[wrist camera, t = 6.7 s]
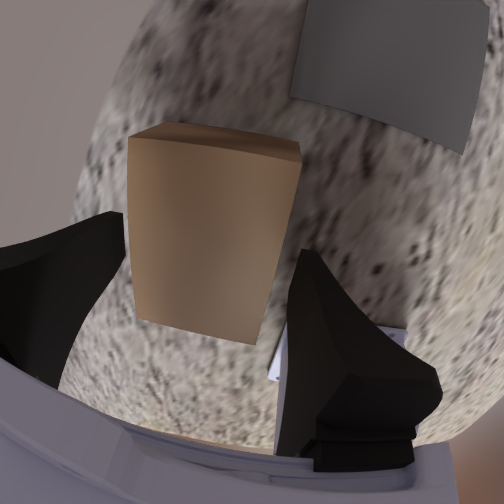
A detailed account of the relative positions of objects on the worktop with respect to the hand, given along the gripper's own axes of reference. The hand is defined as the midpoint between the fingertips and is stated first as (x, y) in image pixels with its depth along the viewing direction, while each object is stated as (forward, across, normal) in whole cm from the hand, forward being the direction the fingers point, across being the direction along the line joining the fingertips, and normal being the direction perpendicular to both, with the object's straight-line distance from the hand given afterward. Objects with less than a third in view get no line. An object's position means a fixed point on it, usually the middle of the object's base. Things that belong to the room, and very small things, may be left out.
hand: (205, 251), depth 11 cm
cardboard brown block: (+3, 0, 0) cm, 3 cm away
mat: (+6, -7, -11) cm, 14 cm away
